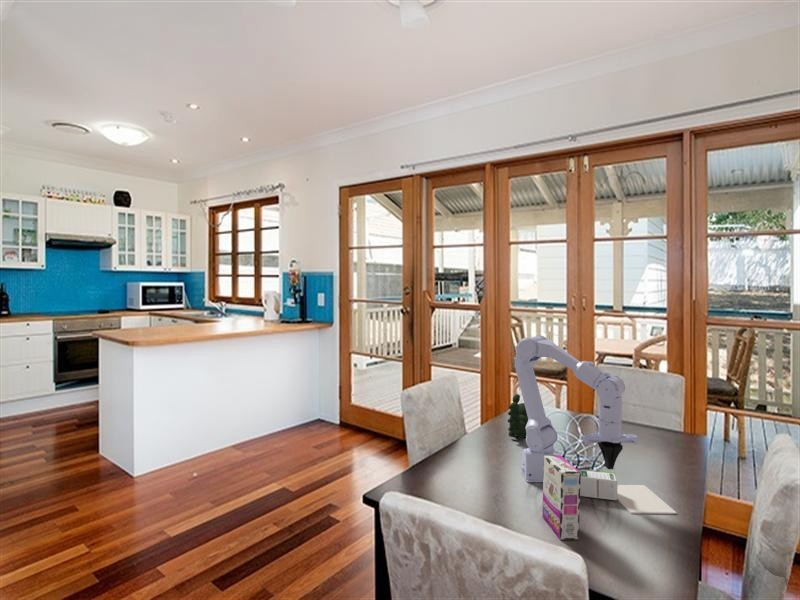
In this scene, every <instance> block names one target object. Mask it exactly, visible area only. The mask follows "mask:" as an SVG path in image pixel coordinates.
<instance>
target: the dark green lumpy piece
mask: <svg viewBox="0 0 800 600" xmlns="http://www.w3.org/2000/svg"><path fill="white" fill-rule="evenodd" d="M520 399H521V395H520V394H519V393H516V394H514V395H513V397H512V402H511V403H510V405H509V406H508V409H509V411H508V412H507V415H508V416H509V418H508V419H507V423H509V427H508V428H507V430H508V436H509V437H510V438H513V437H515V436H516V437H518V438H519V439H524V437H526V429H525V428H526V425H527V422H528V416H527V412H526V408H525V404H524V402H521V403H519V402H520Z"/></svg>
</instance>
